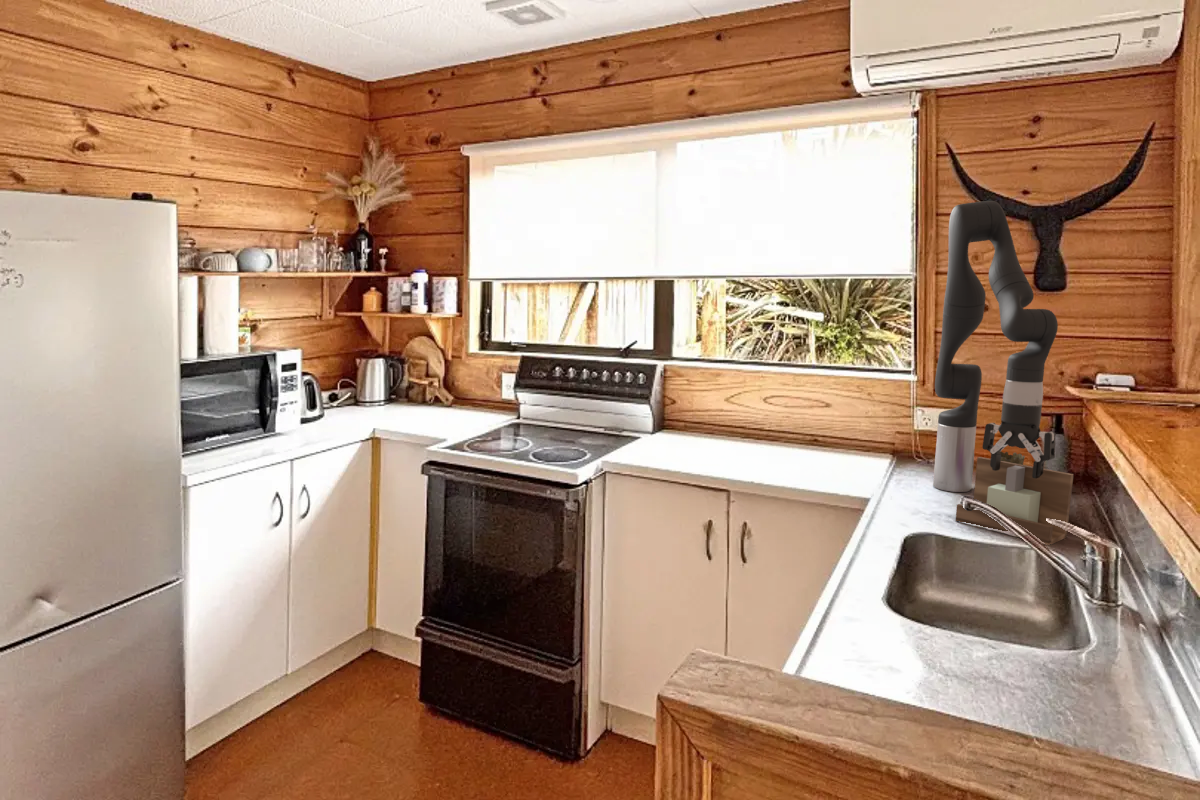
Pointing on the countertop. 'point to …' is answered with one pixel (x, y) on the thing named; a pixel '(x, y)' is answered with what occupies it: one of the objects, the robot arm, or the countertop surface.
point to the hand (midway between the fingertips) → (1015, 473)
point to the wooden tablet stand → (1049, 484)
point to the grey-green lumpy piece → (1012, 458)
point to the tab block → (1015, 496)
